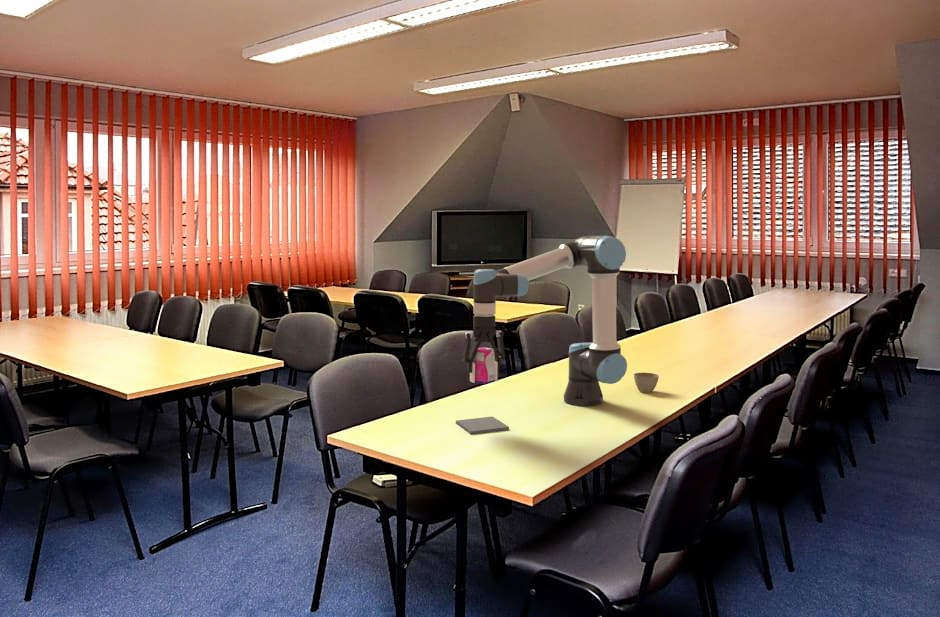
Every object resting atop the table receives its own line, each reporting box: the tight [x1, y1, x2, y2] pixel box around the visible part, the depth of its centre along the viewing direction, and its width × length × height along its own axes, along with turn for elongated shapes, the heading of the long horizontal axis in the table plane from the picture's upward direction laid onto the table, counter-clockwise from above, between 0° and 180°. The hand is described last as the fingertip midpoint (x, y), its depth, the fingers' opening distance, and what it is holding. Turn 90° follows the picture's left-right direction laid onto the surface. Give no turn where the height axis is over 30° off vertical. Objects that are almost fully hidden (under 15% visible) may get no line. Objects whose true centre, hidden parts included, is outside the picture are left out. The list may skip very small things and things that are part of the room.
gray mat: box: [455, 416, 510, 435], centre depth 253 cm, size 14×14×1 cm
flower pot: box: [633, 372, 659, 394], centre depth 302 cm, size 10×10×7 cm
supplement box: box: [473, 346, 496, 385], centre depth 252 cm, size 6×6×12 cm
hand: (483, 380), depth 253 cm, fingers closed on supplement box, 8 cm apart
